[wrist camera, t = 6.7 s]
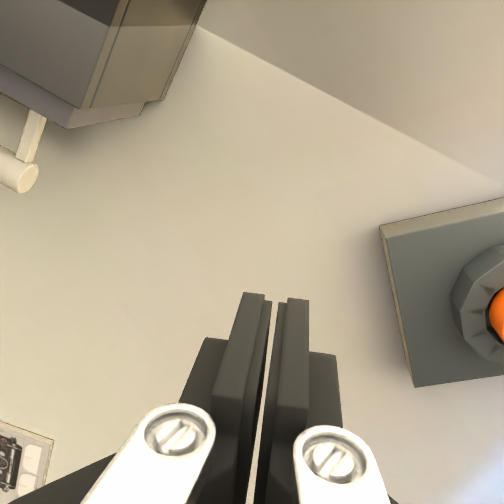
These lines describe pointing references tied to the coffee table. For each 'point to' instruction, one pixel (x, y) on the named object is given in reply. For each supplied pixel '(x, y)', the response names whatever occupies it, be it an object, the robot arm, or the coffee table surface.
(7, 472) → the white stand base
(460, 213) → the control block
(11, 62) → the drawer box
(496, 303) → the button
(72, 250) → the coffee table surface
